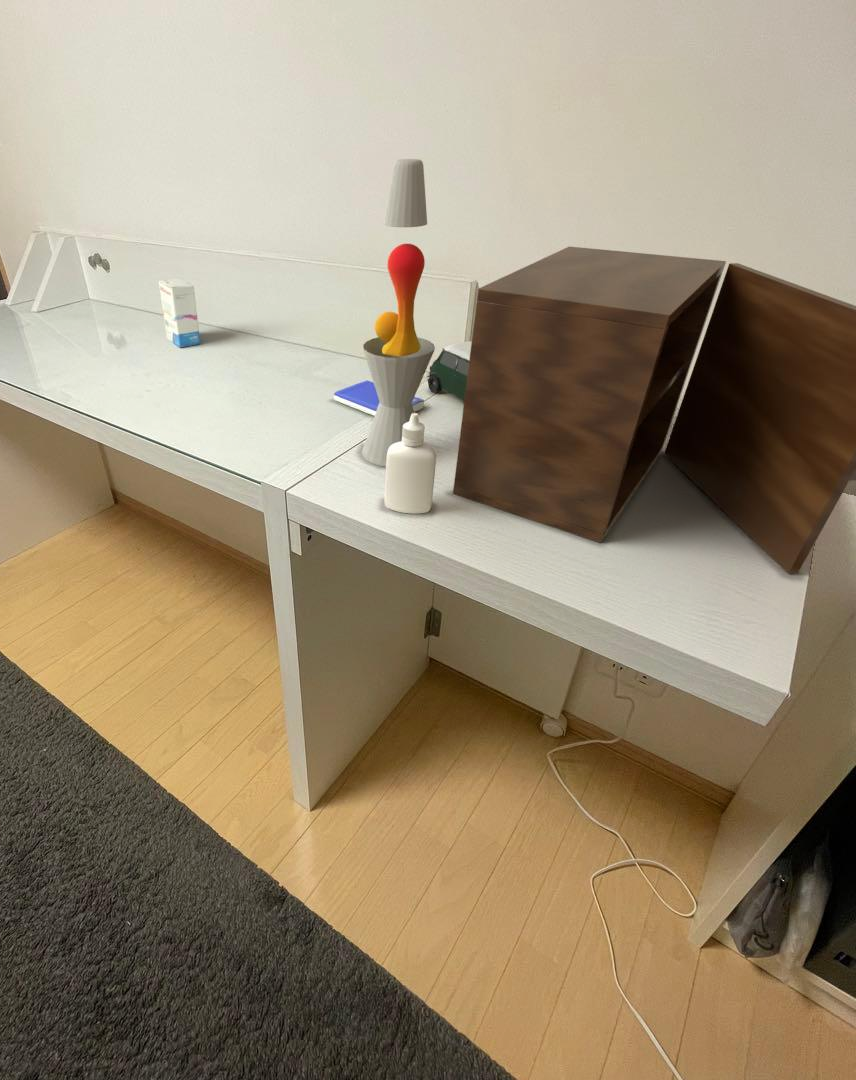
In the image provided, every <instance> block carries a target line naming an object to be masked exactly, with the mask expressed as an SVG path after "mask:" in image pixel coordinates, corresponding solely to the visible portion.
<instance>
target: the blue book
mask: <svg viewBox="0 0 856 1080" xmlns="http://www.w3.org/2000/svg"><path fill="white" fill-rule="evenodd" d="M333 400H334V401H335V402H338V403H341V404H343V405H346V406H347V407H351V408H353V409H356V410H358V411H361V412H363V413H366V414H368V415H371V416H375V413H376V411H377V408H378V405H379V402H380V401H379V398H378V395H377V392H376V388H375V385H374V382H373V381H370V380H364V381H360V382H359V383H355V384H352V385H350V386H348V387H345V388H342V389H340V390H336V391H335V392H334V393H333ZM412 406H413V410H414V413H416V412H418V411H421V410H422V409H423V408H424V406H425V400H424V399H422V398H420V397H416V396H414V399H413V401H412Z"/></svg>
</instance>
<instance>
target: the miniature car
mask: <svg viewBox="0 0 856 1080" xmlns="http://www.w3.org/2000/svg"><path fill="white" fill-rule="evenodd" d="M471 344H472V340H471V341H470V340H469V341H464V342H462V341H461V342H456V343H452V344H450V345H447V346H444V347H442V350H441V352H440V354H439V355H438V357H437V358H436V359H435V360H433V361H432V364H431V365H430V366H429V373H428V374H427V375H426V379H427V384H428V389H429V390H430V392H431V393H438V392H442V391H443V390H444V391H446V392H447V393H449V394H451V395H452V396H455V397H456V398H459V399H461V400H462V401H464V400H465V392H466V384H467V376H468V368H469V360H470V352H471Z"/></svg>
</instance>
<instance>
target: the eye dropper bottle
mask: <svg viewBox="0 0 856 1080" xmlns="http://www.w3.org/2000/svg"><path fill="white" fill-rule="evenodd" d="M425 429H426V426H425V425H424V423H422V422H420V420H419V414H418V413H416V412H414V413H412V414H411V418H410V421H409V422H407V423H405V424H404V425H403V431H402V441H401V442H397V443H394V444H392V445H391V446H390V447H389V449H388V452H387V461H386V467H385V479H384V480H385V481H384V482H385V483H384V500H383V501H384V506H385V508H387V509H389V510H391V511H394V512H398V513H403V514H414V515H415V514H416V515H417V514H426V513H429V512H430V511H431V508H432V505H433V496H434V488H435V487H434V486H435V475H436V466H437V465H436V464H437V451H436V449H435V448H434V447H433V446H432V445H429V444H428V443H425V441H424V440H425Z"/></svg>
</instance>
